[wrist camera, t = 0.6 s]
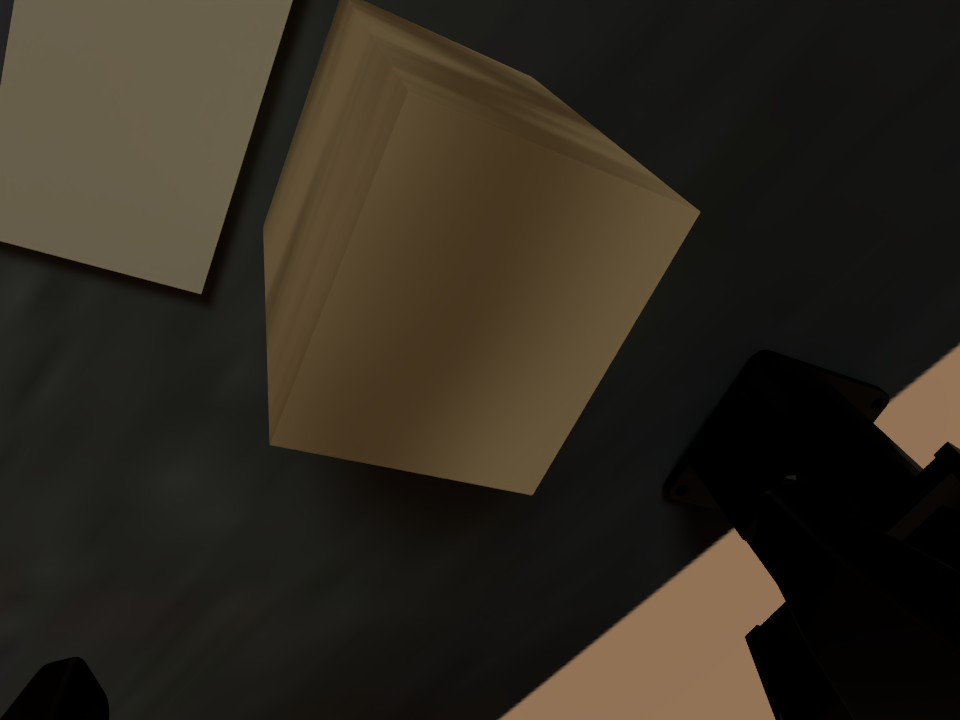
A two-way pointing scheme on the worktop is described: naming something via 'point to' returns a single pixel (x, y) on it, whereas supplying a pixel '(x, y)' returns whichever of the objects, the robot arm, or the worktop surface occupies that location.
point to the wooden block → (449, 259)
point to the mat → (130, 127)
